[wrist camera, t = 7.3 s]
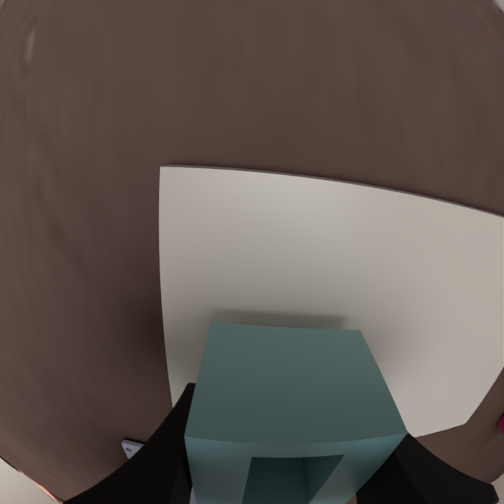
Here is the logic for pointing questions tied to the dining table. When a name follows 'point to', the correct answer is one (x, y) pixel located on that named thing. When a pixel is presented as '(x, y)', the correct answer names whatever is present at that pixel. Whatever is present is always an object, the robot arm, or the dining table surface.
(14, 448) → the dining table surface
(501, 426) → the pepper mill
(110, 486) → the robot arm
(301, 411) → the teal square tube
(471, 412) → the key plate
